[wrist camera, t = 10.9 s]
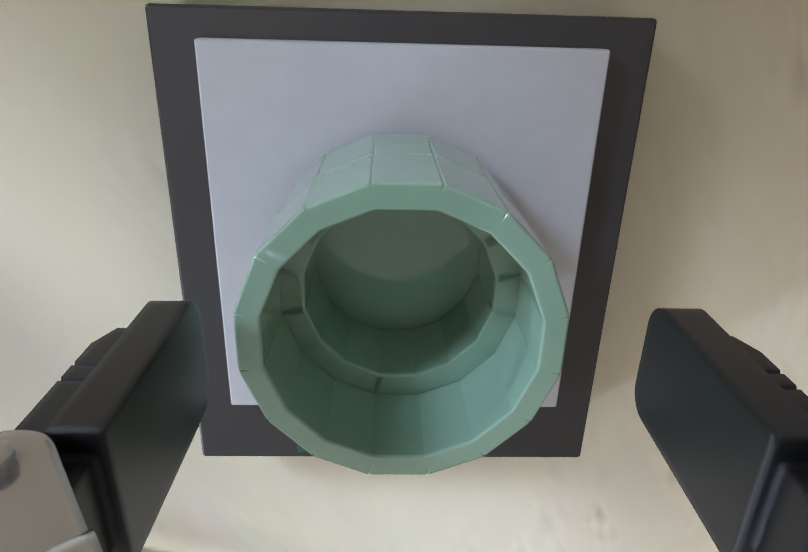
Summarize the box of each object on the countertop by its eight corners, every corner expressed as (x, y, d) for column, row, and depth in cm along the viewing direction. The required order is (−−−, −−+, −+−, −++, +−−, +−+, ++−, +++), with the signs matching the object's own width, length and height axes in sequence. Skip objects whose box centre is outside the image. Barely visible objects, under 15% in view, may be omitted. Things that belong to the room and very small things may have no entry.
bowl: (271, 126, 15) (219, 178, 10) (527, 132, 15) (590, 186, 10) (284, 350, 17) (247, 475, 12) (503, 353, 17) (546, 476, 13)
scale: (173, 4, 16) (134, 2, 13) (625, 17, 16) (668, 18, 14) (219, 414, 21) (197, 468, 19) (562, 416, 22) (585, 469, 19)
